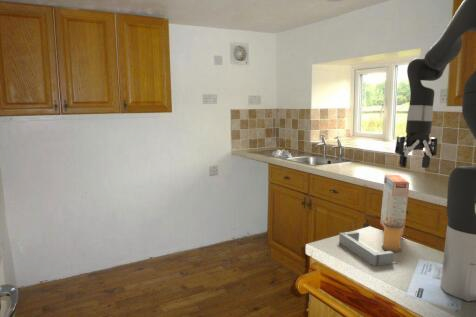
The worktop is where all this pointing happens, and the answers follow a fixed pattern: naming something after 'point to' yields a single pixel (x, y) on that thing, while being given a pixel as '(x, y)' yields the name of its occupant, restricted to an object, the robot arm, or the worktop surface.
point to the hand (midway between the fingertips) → (414, 167)
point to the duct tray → (365, 249)
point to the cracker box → (394, 200)
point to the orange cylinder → (392, 236)
